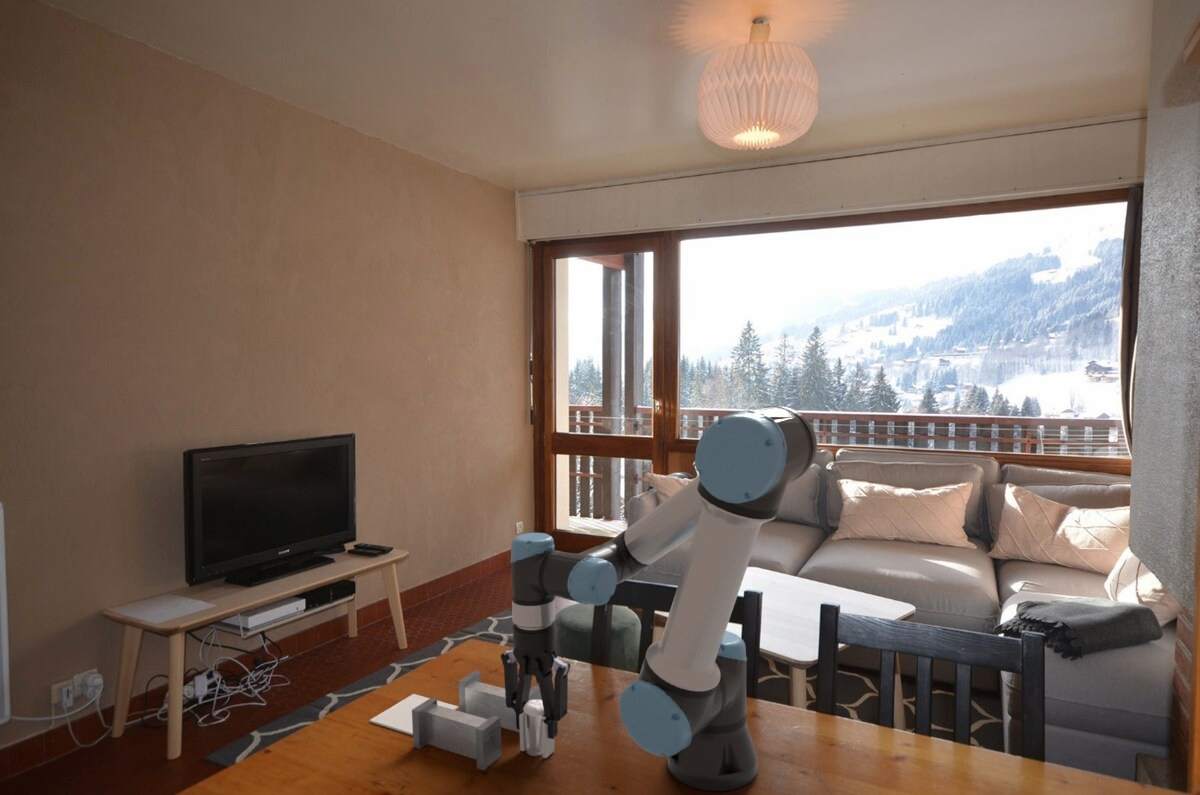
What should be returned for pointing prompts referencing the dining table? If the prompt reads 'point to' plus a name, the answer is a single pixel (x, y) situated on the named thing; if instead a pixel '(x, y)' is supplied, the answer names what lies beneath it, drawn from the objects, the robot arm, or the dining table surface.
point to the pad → (404, 714)
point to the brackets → (468, 721)
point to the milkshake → (534, 726)
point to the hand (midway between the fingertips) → (537, 750)
